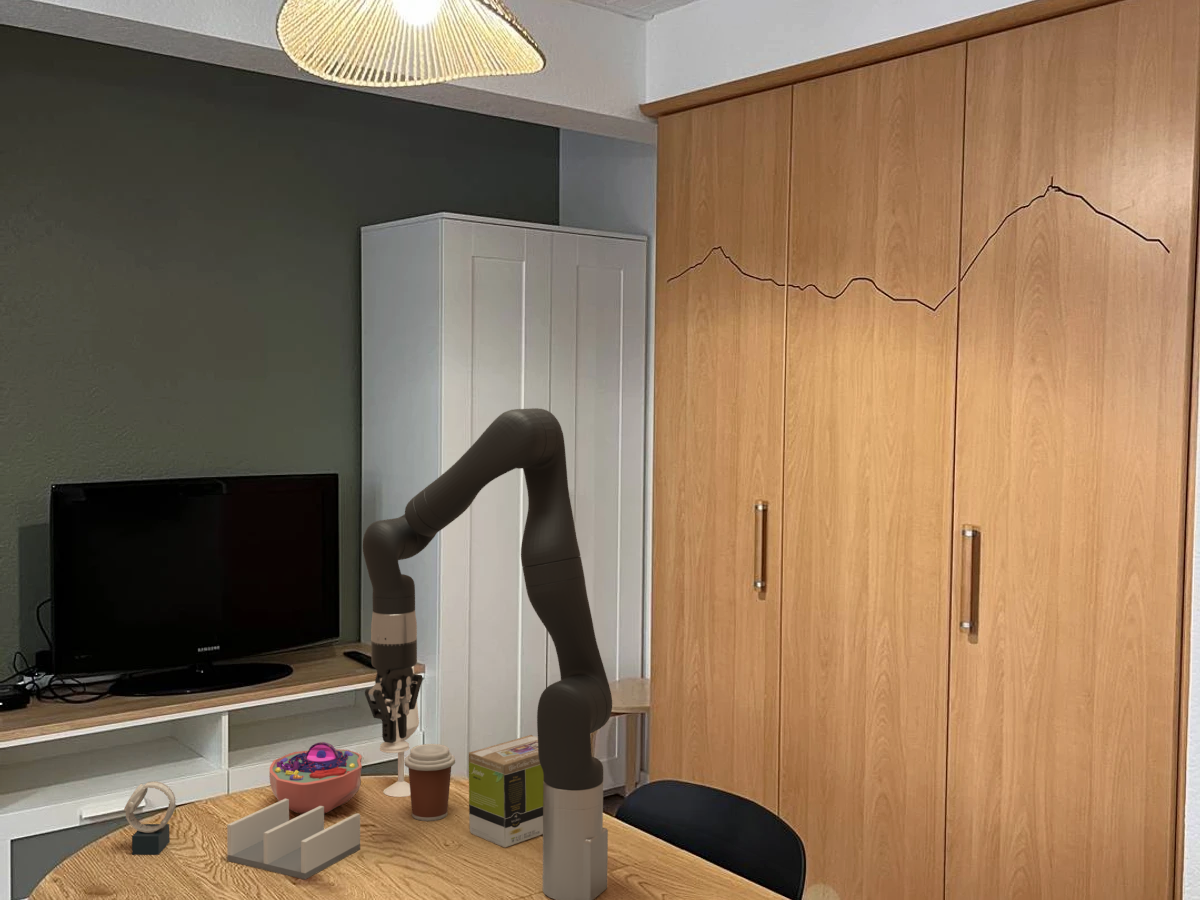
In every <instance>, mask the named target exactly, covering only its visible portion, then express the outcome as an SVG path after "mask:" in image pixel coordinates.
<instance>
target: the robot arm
mask: <svg viewBox="0 0 1200 900" xmlns="http://www.w3.org/2000/svg"><path fill="white" fill-rule="evenodd" d="M564 437H565V436H564V433H563V429H562V426H561V424H560V422H559V420H558V419H557V417H556V416H555V415H554V414H553V413H552V412H551V411H549V410H547V409H543V408H534V407H532V408H517V409H516V408H514V409H509V410H507V411H504V412H502V413H501V414H500V415H499V416H497V417H496V418H495V419H494V420H493V421H492V422H491V424H489V426H487V428H486V429H485V430H484V431H483V432H482V434H481V435H480V436H479V437H478V438H477V440H475V442H474V443H473V444H472V445H471V446H470V447H469V448H468V449H467V450H466V452H464V454H462V455H461V457H460V458H459V459H458V460H457V461H456V462H455V463H454V464H452V465H451V466H450V467H449V468H448V469H447V470H446V471H445V472H444V473H442V474H441V475H440V476H439V477H437V478H436V479H435V480H434V481H432V482H431V483H429V484H428V485H427V486H425V488H423V489H422V490H421V491H419V492H418V493H417V494H416V495H414V496H413V497H412V498H410V500H409V501H408V503H407V504H406V506H405V508H404V514H403V515H401V516H399V517H395V518H390V519H389V518H388V519H380V520H376V521H374V522H372V523H371V524H370V525H368V527H367V528H366V530H365V532H364V534H363V540H362V552H363V557H364V561H365V564H366V569H367V572H368V576H369V580H370V583H371V586H372V587H371V588H372V616H371V617H372V618H371V625H370V629H371V631H370V634H371V635H370V636H371V638H370V639H371V640H370V641H371V642H370V643H371V656H370V657H371V665H372V666H371V667H373V668H375V670H376V676H375V680H374V685H373V686H372V688H365V691H364V695H365V698H366V700H367V703H368V706H369V709H370V711H371V715H372V716H373V719H378V720H381V723H382V724H381V725H382V727H381V731H382V735H381V737H382V740H383V742H388V743H393V742H395V741H396V720H395V719H396V708H397V706H399V708H398V712H397V713H399V714H400V715H401V717H399V718H397V721H398V730H399V736H400V738H401V739H402V738H405V737H406V731H407V715H408V714H409V710H410V709H414V708H415V705H416V701H417V702H418V697H419V693H420V690H421V686H422V684H423V683H422V681H423V675H421V674H417V673H415V672H414V673H413V669H412V667H413V666H414V667H415V666H416V665H417V663H418V643H417V642H418V636H417V634H418V625H417V617H416V586H415V585H416V584H415V581H414V579H413V578H412V576H409V575H407V574H403V573H402V572H401V569H400V566H399V565H400V564H399V561H403V560H406V559H410V558H412V557H415V556H417V555H418V554H420V553H421V552H422V551H423V550H424V549H425V548H427V546H428V545H429V544H430V543H431V541H432V540H434V538H435V537H436V536H437V533H439V532H441V530H443V529H444V528H446V527H448V526H449V525H450V524H451V523H453V522H454V521H455V520H456V519H458V518H459V517H460V516H461V515H462V514H463V513H465V511H466V510H467V509H469V508H470V507H471V505H472V503H473V502H474V500H475V499H476V497H477V495H479V493H480V492H481V490H483V489H484V488H485V487H486V486H487V485H488V484H489V483H491V482H492V481H494V480H495V479H497V478H499V477H501V476H503V475H505V474H507V473H509V472H510V471H513V470H515V469H522V470H523V474H524V479H525V485H526V489H527V501H528V505H527V506H528V507H527V514H526V515H527V516H526V520H525V524H524V530H523V535H522V540H521V547H520V559H521V560H520V561H521V566H522V572H523V578H524V583H525V589H526V593H527V597H528V600H529V602H530V605H531V606H532V608H533V610H534V611H535V613H536V615H537V616H538V618H539V620H540V621H541V623H542V624H543V626H544V627H545V628H546V629H545V630H546V631H547V632H548V635H549V636H550V638H551V640H552V642H553V645H554V649H555V652H556V657H557V661H558V666H559V673H560V675H559V676H560V680H557V681H555V682H553V683H552V684H550V685H548V686H547V687H545V688H544V689H543V691H542V693H541V695H540V697H539V700H538V704H537V711H536V727H537V730H536V731H537V737H538V755H539V761H540V765H541V767H542V769H543V774H544V781H543V834H542V877H541V879H542V892H543V894H544V895H546V896H547V897H548V898H551V899H553V900H595V899H596V898H597V897H598V896H600V895H601V894H602V893H603V892H605V890H607V889H608V849H609V847H608V845H609V844H608V843H609V839H608V838H609V836H608V835H609V829H608V828H606V827H603V826H604V825H603V823H604V821H603V820H604V819H603V818H604V809H603V808H604V766H603V763H602V761H601V760H600V759H598V758H596V757H594V756H593V754H592V733H594V732H596V731H598V730H600V729H601V728H603V727H604V726H605V725H606V724H607V723H608V722H609V720H610V717H611V715H612V710H613V699H612V697H613V696H612V691H611V687H610V684H609V680H608V676H607V673H606V670H605V667H604V663H603V660H602V657H601V653H600V649H599V646H598V642H597V638H596V634H595V629H594V623H593V617H592V612H591V606H590V603H589V596H588V593H587V592H588V591H587V586H586V577H585V572H584V568H583V561H582V557H581V551H580V547H579V543H578V542H579V541H578V538H577V532H576V527H575V520H574V515H573V509H572V504H571V497H570V491H569V483H568V481H569V480H568V471H567V470H568V468H567V456H566V445H565V438H564ZM411 695H412V696H411ZM386 699H390V700H393V701H388V700H386ZM399 701H400V705H399ZM409 701H410V702H409ZM387 706H389V707H390V713H389V712H388V709H387Z"/></svg>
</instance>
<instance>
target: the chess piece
mask: <svg viewBox="0 0 1200 900" xmlns="http://www.w3.org/2000/svg"><path fill="white" fill-rule="evenodd" d="M390 701H393V700H390ZM399 705H400V701H399ZM398 708H399V706H397V708H396V719H395V720H396V741H395V742H393V743H388V742H384V741H383V742H382V743H381V744H380V746H379V751H381V752H383V753H386V754H398V753H400V752H404V753H405V752H406V751H408V750H409V749H410V744H409V742H408V741H406V740H405V741H403V740H401V738H400V736H399V730H398V721H397V718H399V717H401V715H400V714H399V713H397V712H398Z"/></svg>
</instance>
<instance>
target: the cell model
mask: <svg viewBox="0 0 1200 900" xmlns="http://www.w3.org/2000/svg"><path fill="white" fill-rule="evenodd" d="M362 758H363V756H362V754H360V753H358V752H356V751H353V750H349V749H341V748H340V749H338V748H337V749H336V748H335V746H333V745H332V744H330V743H329V742H325V741H319V742H316V743H313V744H312V745H311V746H310V747H309V748H308V750H301V751H293V752H290V753H287V754H285V755H283V756H281V757H278V758H276V759H274V760H273V761H272V763H270V765H269V775H268V776H269V784H270V788H271V791H272V793H273V795H274V796H275V798H276V799H277V802H279V801H281V800H283V799H289V811H291V812H294V813H297V814H300V815H302V814H304V813H306V812H308V811H310V810H312V809H315V808H317V807H319V806H324V814H327V813H329V812H331V811H333V810H334V809H336V808H338V807H341V806H342V805H344V804H346V803H348V802H349V801H350V800H351V799H352V798H353V797H354V796H355V795H356V793H357V792H358V791H359V790H360V788H361V784H362V783H361V782H362V778H361V777H362V776H361V775H362V769H363V767H362V766H363V765H362Z"/></svg>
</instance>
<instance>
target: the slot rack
mask: <svg viewBox="0 0 1200 900" xmlns="http://www.w3.org/2000/svg"><path fill="white" fill-rule="evenodd" d="M226 829H227V832H226V833H227V834H226V837H227V840H226V841H227V844H226V845H227V846H226V847H227V853H226V854H227V857H226V858H227V862H232V863H235V864H239V865H244V866H247V867H252V868H256V869H261V870H264V871H267V872H268V871H269V872H272V873H277V874H280V875H281V874H282V875H285V876H288V877H293V878H296V879H297V878H298V879H301V880H307V879H309V878H310V877H312V876H314V875H316V874H318V873H320V872H321V871H323V870H325V869H327V868H329V867H330V866H332V865H334V864H336V863H338V862H340V861H341V860H343V859H345V858H347V857H348V856H350V855H353V854H355V853H357V852H358V851H360V850H361V814H360V813H359V812H358V813H354V814H352V815H350V816H348V817H346V818H344V819H342V820H340V821H338V822H337V823H335V824H333V825H330V826H328V827H327V828H325V813H324V806H319V807H317V808H315V809H312V810H310V811H308V812H306V813H304V814H300V815H298V816H296V817H294V818H291V819H290V809H289V799H283V800H281V801H277V802H275V803H272V804H270V805H268V806H266V807H264V808H261V809H259V810H257V811H255V812H252V813H250V814H247V815H246V816H243V817H242V818H239V819H237V820H234V821H232V822H230V823H228V824H227V827H226Z"/></svg>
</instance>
